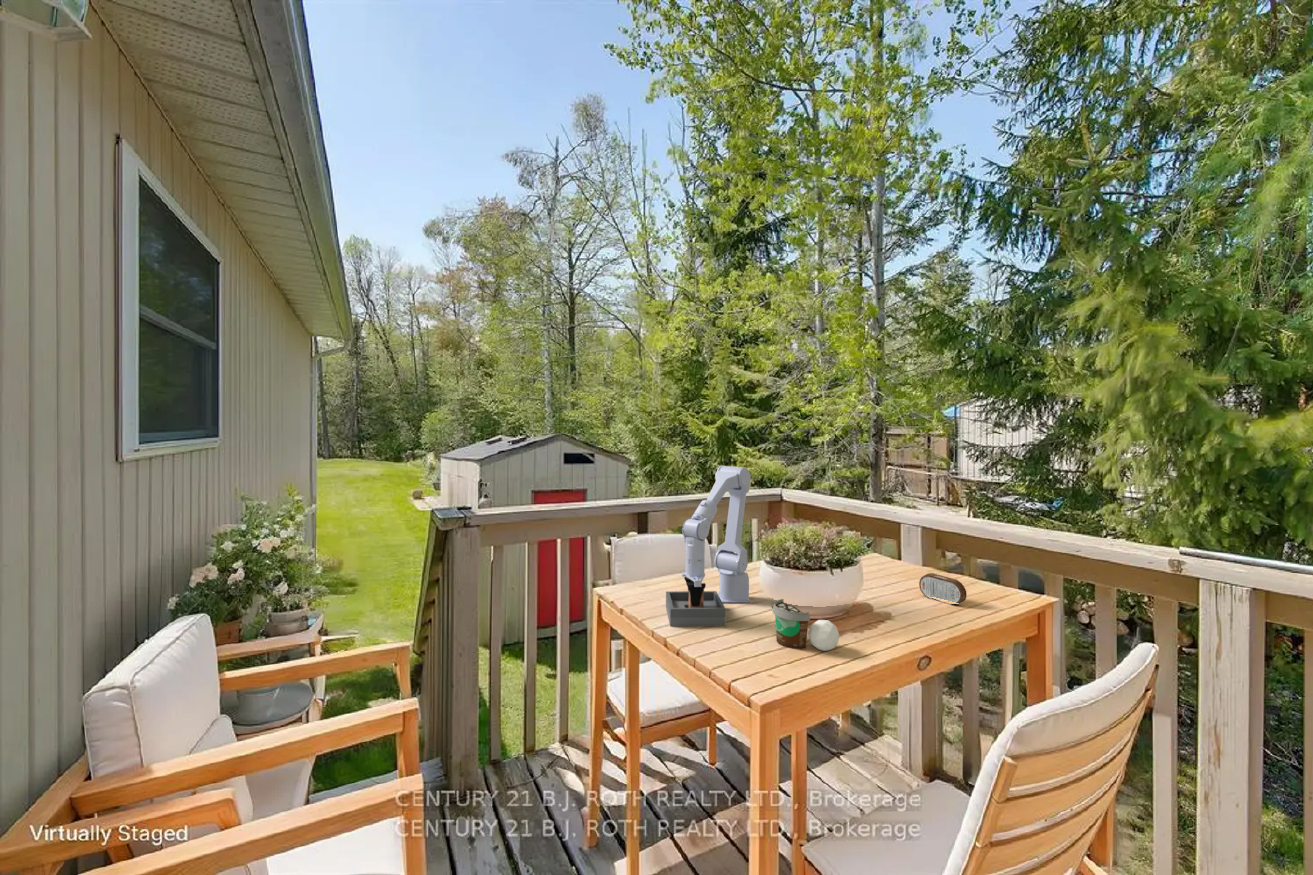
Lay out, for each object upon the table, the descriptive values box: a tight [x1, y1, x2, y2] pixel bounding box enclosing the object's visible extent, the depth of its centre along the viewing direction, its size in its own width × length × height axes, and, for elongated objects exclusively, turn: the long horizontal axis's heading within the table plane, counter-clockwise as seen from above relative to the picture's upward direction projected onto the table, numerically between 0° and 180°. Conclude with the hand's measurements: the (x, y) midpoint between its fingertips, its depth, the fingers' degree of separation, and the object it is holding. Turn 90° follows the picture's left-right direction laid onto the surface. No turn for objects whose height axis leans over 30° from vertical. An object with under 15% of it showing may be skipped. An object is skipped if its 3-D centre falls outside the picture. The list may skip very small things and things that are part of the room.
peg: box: [688, 589, 705, 608], centre depth 173 cm, size 4×4×8 cm
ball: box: [807, 619, 840, 652], centre depth 151 cm, size 8×8×8 cm
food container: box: [772, 598, 811, 650], centre depth 154 cm, size 12×6×10 cm, turn 23°
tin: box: [918, 572, 968, 604], centre depth 190 cm, size 15×3×8 cm, turn 34°
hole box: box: [665, 590, 726, 627], centre depth 174 cm, size 16×16×5 cm
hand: (694, 603), depth 173 cm, fingers closed on peg, 4 cm apart
